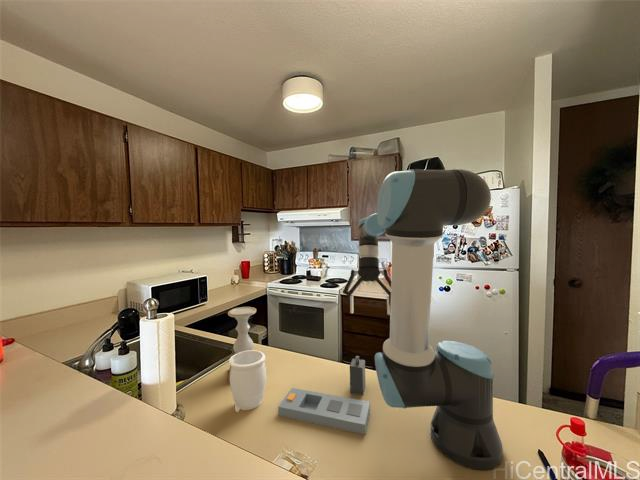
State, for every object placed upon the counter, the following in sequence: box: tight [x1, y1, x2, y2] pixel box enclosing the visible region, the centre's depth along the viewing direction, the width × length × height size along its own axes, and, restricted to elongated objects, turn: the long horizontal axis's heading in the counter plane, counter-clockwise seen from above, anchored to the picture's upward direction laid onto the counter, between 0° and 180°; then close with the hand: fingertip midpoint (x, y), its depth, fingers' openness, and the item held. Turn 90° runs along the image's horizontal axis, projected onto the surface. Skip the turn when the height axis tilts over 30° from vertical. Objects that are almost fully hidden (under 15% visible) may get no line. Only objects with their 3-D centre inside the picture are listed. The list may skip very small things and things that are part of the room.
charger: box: [349, 355, 366, 396], centre depth 82 cm, size 4×5×12 cm
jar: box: [228, 349, 267, 413], centre depth 78 cm, size 11×10×15 cm
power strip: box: [277, 387, 371, 435], centre depth 72 cm, size 24×9×4 cm, turn 72°
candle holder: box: [227, 306, 257, 385], centre depth 96 cm, size 11×11×24 cm
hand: (369, 313), depth 96 cm, fingers open, 13 cm apart
